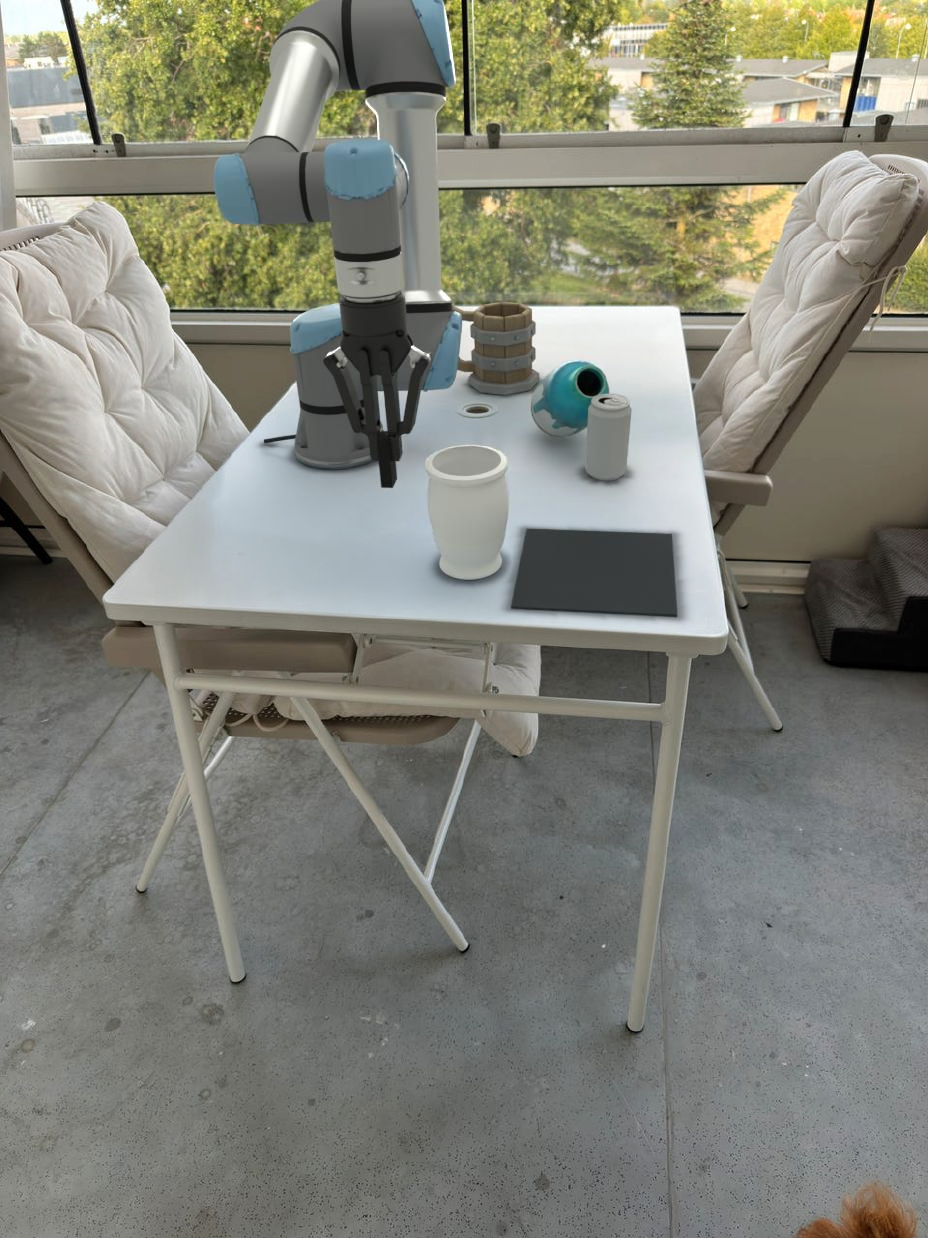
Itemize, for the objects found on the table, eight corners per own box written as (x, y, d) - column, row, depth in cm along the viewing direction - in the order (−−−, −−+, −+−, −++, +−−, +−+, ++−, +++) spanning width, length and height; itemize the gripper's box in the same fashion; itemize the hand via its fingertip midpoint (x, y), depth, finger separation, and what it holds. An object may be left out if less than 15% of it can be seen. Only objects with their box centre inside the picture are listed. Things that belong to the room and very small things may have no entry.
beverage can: (599, 459, 149) (603, 388, 141) (634, 470, 145) (640, 398, 138) (576, 475, 145) (580, 402, 138) (612, 486, 141) (617, 412, 134)
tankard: (545, 374, 183) (545, 296, 174) (524, 397, 173) (524, 316, 165) (450, 366, 189) (446, 290, 181) (426, 387, 180) (420, 308, 171)
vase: (584, 383, 160) (625, 350, 141) (582, 445, 160) (623, 419, 141) (524, 378, 158) (557, 343, 139) (522, 440, 158) (555, 414, 139)
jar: (502, 588, 119) (500, 481, 110) (423, 582, 121) (415, 476, 112) (515, 547, 127) (514, 444, 119) (441, 542, 129) (435, 441, 121)
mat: (511, 608, 115) (511, 606, 115) (526, 530, 131) (526, 528, 131) (676, 616, 112) (677, 614, 112) (671, 535, 128) (671, 533, 128)
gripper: (306, 302, 103) (331, 494, 117) (421, 303, 101) (434, 498, 115) (325, 284, 110) (347, 469, 123) (434, 284, 108) (444, 472, 121)
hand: (389, 483), depth 119 cm, fingers closed
